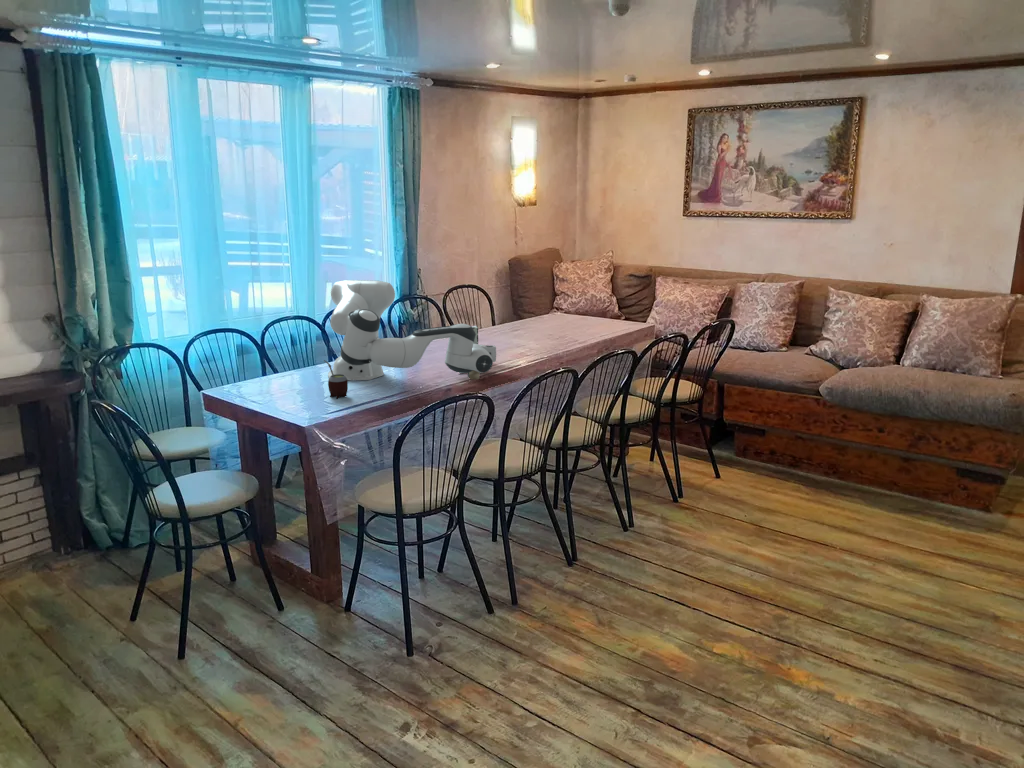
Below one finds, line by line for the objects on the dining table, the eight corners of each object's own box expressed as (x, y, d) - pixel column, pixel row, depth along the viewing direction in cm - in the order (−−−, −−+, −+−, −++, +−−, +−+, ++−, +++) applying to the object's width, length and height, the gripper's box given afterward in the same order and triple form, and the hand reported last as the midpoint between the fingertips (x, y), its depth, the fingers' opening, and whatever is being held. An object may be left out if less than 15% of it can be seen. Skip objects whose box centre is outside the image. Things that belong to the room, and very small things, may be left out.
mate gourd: (349, 394, 288) (347, 355, 284) (346, 400, 280) (344, 360, 276) (329, 394, 287) (327, 355, 283) (325, 400, 280) (323, 360, 276)
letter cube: (469, 379, 310) (469, 369, 309) (467, 377, 314) (467, 367, 313) (479, 379, 311) (479, 369, 310) (477, 376, 315) (477, 367, 314)
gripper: (449, 364, 306) (443, 356, 319) (499, 361, 312) (491, 354, 324) (449, 348, 305) (443, 341, 318) (499, 346, 310) (491, 339, 323)
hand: (468, 348), depth 321 cm, fingers open, 8 cm apart
